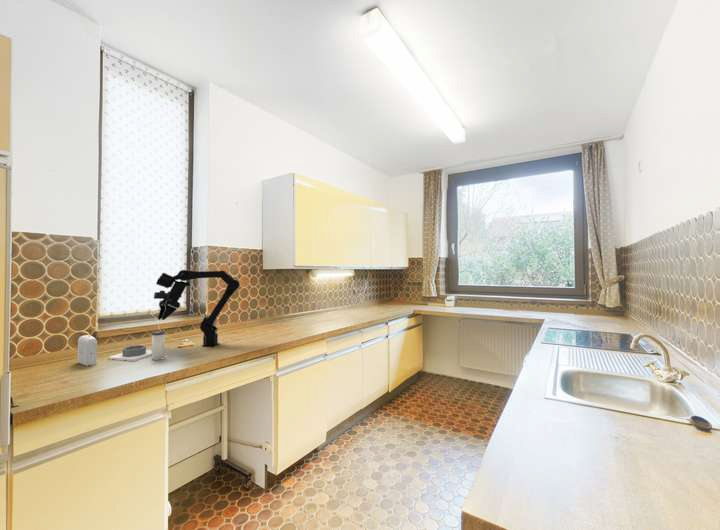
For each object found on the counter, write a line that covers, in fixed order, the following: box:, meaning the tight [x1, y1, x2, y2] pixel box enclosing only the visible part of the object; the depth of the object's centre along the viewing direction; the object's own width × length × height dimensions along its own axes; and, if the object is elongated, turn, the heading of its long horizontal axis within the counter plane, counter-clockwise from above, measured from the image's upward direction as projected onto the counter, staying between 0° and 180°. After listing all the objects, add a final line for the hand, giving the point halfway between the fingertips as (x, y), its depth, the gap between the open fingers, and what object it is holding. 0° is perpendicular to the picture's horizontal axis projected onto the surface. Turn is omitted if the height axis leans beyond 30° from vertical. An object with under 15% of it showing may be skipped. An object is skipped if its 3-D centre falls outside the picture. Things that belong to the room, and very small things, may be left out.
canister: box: [151, 330, 166, 361], centre depth 148 cm, size 5×5×12 cm
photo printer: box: [77, 334, 98, 367], centre depth 140 cm, size 10×4×12 cm, turn 60°
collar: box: [107, 344, 152, 362], centre depth 152 cm, size 14×14×4 cm
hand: (160, 319), depth 162 cm, fingers open, 9 cm apart
